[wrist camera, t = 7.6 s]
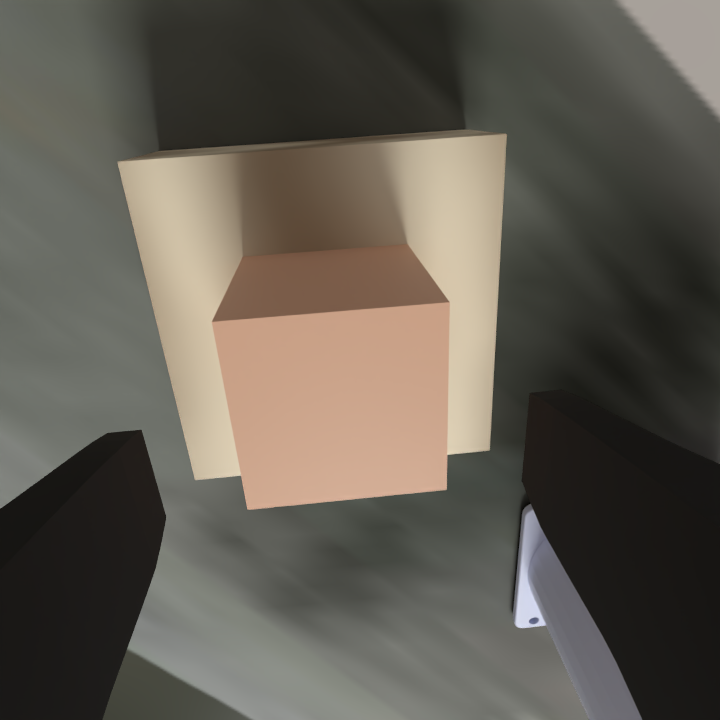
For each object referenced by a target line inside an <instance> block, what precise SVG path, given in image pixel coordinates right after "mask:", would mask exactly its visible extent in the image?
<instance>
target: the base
mask: <svg viewBox="0 0 720 720" xmlns="http://www.w3.org/2000/svg"><path fill="white" fill-rule="evenodd" d="M506 138H507V134H503V133H494V132H485V131H476V130H467V129H465V130H450V131H436V132H422V133H408V134H394V135H380V136H365V137H351V138H337V139H323V140H309V141H295V142H281V143H266V144H252V145H238V146H224V147H210V148H196V149H182V150H167V151H157V152H153V153H150V154H146V155H142V156H138V157H134V158H130V159H126V160H122V161H118V166H119V170H120V174H121V179H122V183H123V187H124V191H125V195H126V199H127V203H128V207H129V211H130V215H131V219H132V224H133V228H134V232H135V236H136V240H137V244H138V248H139V252H140V256H141V260H142V264H143V269H144V273H145V277H146V281H147V285H148V289H149V293H150V297H151V301H152V305H153V309H154V313H155V318H156V322H157V326H158V330H159V334H160V338H161V342H162V346H163V350H164V354H165V358H166V363H167V367H168V371H169V375H170V379H171V383H172V387H173V391H174V395H175V399H176V403H177V408H178V412H179V416H180V420H181V424H182V428H183V432H184V436H185V440H186V444H187V448H188V452H189V457H190V461H191V465H192V469H193V473H194V477H195V480H201V479H211V478H221V477H230V476H240V475H241V472H240V467H239V462H238V457H237V451H236V446H235V441H234V436H233V431H232V425H231V420H230V415H229V410H228V405H227V399H226V394H225V389H224V384H223V378H222V373H221V368H220V363H219V358H218V352H217V347H216V342H215V337H214V332H213V326H212V320H213V318H214V316H215V314H216V312H217V310H218V308H219V305H220V303H221V301H222V299H223V297H224V295H225V293H226V291H227V289H228V287H229V285H230V282H231V280H232V278H233V276H234V274H235V272H236V270H237V268H238V266H239V264H240V261H241V259H242V257H246V256H259V255H272V254H285V253H298V252H311V251H324V250H337V249H350V248H363V247H376V246H389V245H402V244H408V245H409V247H410V248H411V249H412V251H413V252H414V254H415V255H416V256H417V258H418V259H419V260H420V262H421V263H422V265H423V266H424V267H425V269H426V270H427V271H428V273H429V274H430V276H431V277H432V278H433V280H434V281H435V283H436V284H437V285H438V287H439V288H440V289H441V291H442V292H443V294H444V295H445V296H446V298H447V299H448V300H449V302H450V317H449V376H448V436H447V455H449V454H459V453H469V452H479V451H488V450H490V433H491V415H492V397H493V378H494V360H495V341H496V323H497V304H498V286H499V267H500V249H501V230H502V212H503V194H504V175H505V157H506Z"/></svg>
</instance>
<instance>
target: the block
mask: <svg viewBox="0 0 720 720" xmlns="http://www.w3.org/2000/svg"><path fill="white" fill-rule="evenodd" d="M449 317H450V302H449V300H448V299H447V298H446V296H445V295H444V294H443V292H442V291H441V289H440V288H439V287H438V285H437V284H436V283H435V281H434V280H433V278H432V277H431V276H430V274H429V273H428V271H427V270H426V269H425V267H424V266H423V265H422V263H421V262H420V260H419V259H418V258H417V256H416V255H415V254H414V252H413V251H412V249H411V248H410V247H409V245H408V244H402V245H389V246H376V247H363V248H350V249H337V250H324V251H311V252H298V253H285V254H272V255H259V256H246V257H242V259H241V261H240V264H239V266H238V268H237V270H236V272H235V274H234V276H233V278H232V280H231V282H230V285H229V287H228V289H227V291H226V293H225V295H224V297H223V299H222V301H221V303H220V305H219V308H218V310H217V312H216V314H215V316H214V318H213V320H212V326H213V332H214V337H215V342H216V347H217V352H218V358H219V363H220V368H221V373H222V378H223V384H224V389H225V394H226V399H227V405H228V410H229V415H230V420H231V425H232V431H233V436H234V441H235V446H236V451H237V457H238V462H239V467H240V472H241V477H242V483H243V488H244V493H245V498H246V504H247V509H248V510H251V509H260V508H270V507H280V506H290V505H300V504H310V503H320V502H330V501H340V500H350V499H360V498H369V497H379V496H389V495H399V494H409V493H419V492H429V491H439V490H447V436H448V376H449Z"/></svg>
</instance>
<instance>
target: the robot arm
mask: <svg viewBox="0 0 720 720" xmlns="http://www.w3.org/2000/svg"><path fill="white" fill-rule="evenodd" d="M522 482H523V485H524V487H525V490H526V493H527V495H528V498H529V500H530V503H531V504H529V505H528V506H526V507H525V508H524V510H523V512H522V521H521V532H520V543H519V554H518V565H517V576H516V586H515V597H514V608H513V621H514V623H515V625H516V626H517V627H519V628H528V627H536V626H545V625H546V626H547V628H548V631H549V633H550V635H551V637H552V639H553V642H554V644H555V646H556V648H557V650H558V652H559V655H560V657H561V659H562V661H563V663H564V666H565V668H566V670H567V672H568V674H569V677H570V679H571V681H572V683H573V685H574V688H575V690H576V692H577V694H578V696H579V699H580V701H581V703H582V705H583V707H584V709H585V712H586V714H587V716H588V718H589V720H720V464H718V463H716V462H713V461H711V460H709V459H706V458H704V457H702V456H700V455H697V454H695V453H693V452H691V451H688V450H686V449H684V448H682V447H680V446H678V445H676V444H673V443H671V442H669V441H667V440H665V439H663V438H661V437H659V436H657V435H655V434H653V433H651V432H649V431H647V430H645V429H643V428H640V427H638V426H636V425H634V424H632V423H630V422H628V421H626V420H624V419H622V418H621V417H619V416H617V415H615V414H613V413H611V412H609V411H607V410H605V409H603V408H601V407H599V406H597V405H594V404H592V403H590V402H588V401H586V400H584V399H582V398H580V397H578V396H575V395H573V394H571V393H568V392H566V391H563V390H556V391H545V392H535V393H530V395H529V406H528V418H527V429H526V440H525V451H524V462H523V473H522ZM165 521H166V515H165V511H164V508H163V504H162V501H161V497H160V493H159V490H158V486H157V483H156V479H155V476H154V472H153V469H152V465H151V462H150V458H149V455H148V451H147V448H146V444H145V441H144V437H143V434H142V430H135V431H124V432H114V433H107V434H105V435H103V436H102V437H100V438H98V439H97V440H95V441H94V442H92V443H91V444H89V445H88V446H86V447H85V448H84V449H82V450H81V451H79V452H78V453H77V454H75V455H74V456H72V457H71V458H70V459H68V460H67V461H66V462H64V463H63V464H61V465H60V466H59V467H57V468H56V469H55V470H53V471H52V472H51V473H49V474H48V475H46V476H45V477H44V478H42V479H41V480H40V481H38V482H37V483H35V484H34V485H33V486H31V487H30V488H29V489H27V490H26V491H25V492H23V493H22V494H20V495H19V496H18V497H16V498H15V499H14V500H12V501H11V502H9V503H8V504H7V505H5V506H4V507H2V508H1V509H0V720H102V719H103V716H104V713H105V710H106V707H107V703H108V700H109V697H110V694H111V691H112V689H113V686H114V683H115V680H116V677H117V675H118V672H119V669H120V666H121V664H122V661H123V658H124V655H125V653H126V650H127V647H128V644H129V642H130V639H131V636H132V633H133V631H134V628H135V625H136V622H137V620H138V617H139V614H140V611H141V609H142V606H143V603H144V600H145V597H146V594H147V592H148V589H149V586H150V583H151V580H152V577H153V574H154V571H155V568H156V564H157V560H158V555H159V551H160V547H161V542H162V537H163V531H164V526H165Z"/></svg>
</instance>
